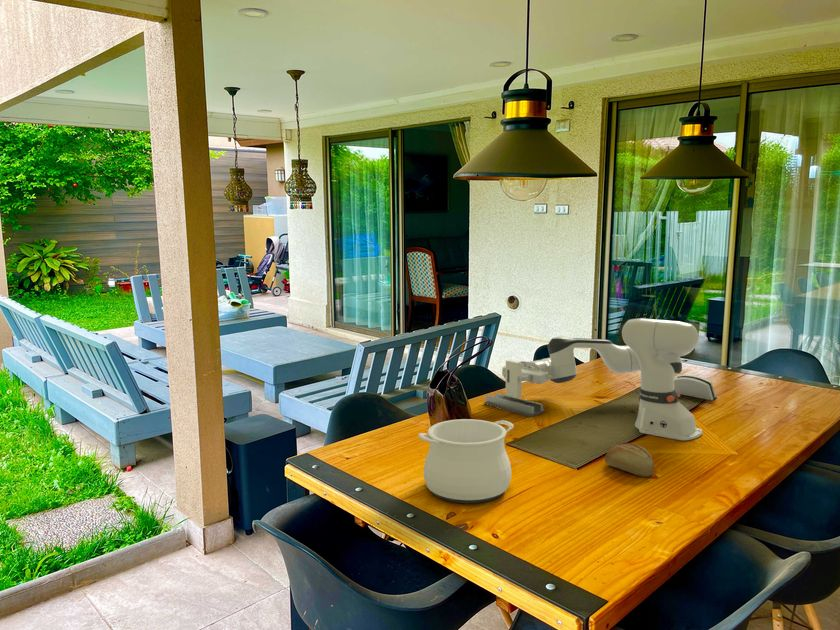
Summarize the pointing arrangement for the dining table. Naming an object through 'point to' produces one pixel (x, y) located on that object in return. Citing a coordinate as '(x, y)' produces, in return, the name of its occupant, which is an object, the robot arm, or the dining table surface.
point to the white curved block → (694, 387)
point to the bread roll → (630, 459)
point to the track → (515, 404)
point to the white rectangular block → (513, 378)
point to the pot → (467, 460)
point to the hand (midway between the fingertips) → (512, 377)
